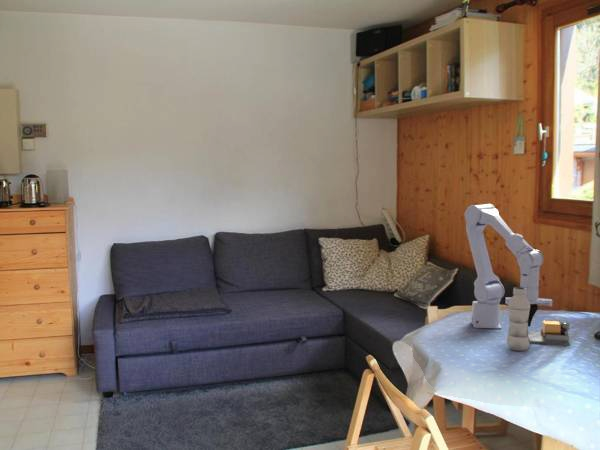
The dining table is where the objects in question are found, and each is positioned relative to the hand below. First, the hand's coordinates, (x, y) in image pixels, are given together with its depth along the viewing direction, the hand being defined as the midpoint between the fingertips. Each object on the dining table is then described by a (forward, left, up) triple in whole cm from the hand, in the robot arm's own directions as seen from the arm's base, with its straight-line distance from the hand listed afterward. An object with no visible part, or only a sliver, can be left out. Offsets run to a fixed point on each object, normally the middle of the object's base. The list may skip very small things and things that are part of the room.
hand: (527, 325), depth 192 cm
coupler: (+6, -1, -4) cm, 8 cm away
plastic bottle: (-5, -13, -4) cm, 15 cm away
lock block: (+7, -1, -3) cm, 8 cm away
